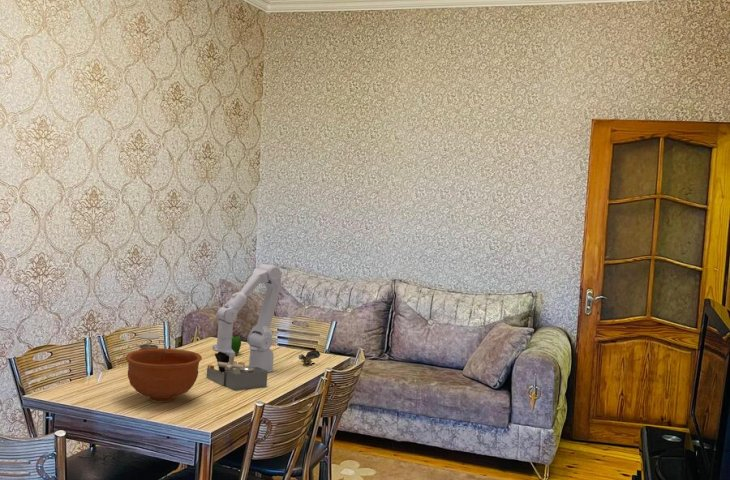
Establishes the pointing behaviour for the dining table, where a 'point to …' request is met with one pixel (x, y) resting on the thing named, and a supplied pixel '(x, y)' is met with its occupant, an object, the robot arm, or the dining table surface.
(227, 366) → the pipe connector
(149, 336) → the french press
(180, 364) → the bowl
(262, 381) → the motor mount
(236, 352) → the bell pepper
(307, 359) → the eagle figurine
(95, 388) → the dining table surface
